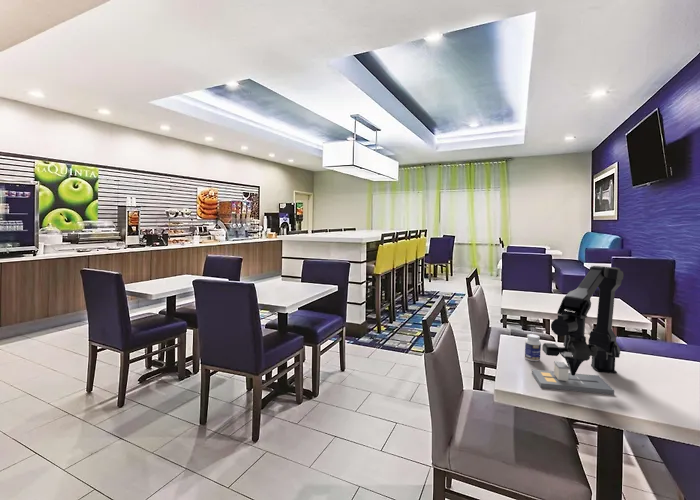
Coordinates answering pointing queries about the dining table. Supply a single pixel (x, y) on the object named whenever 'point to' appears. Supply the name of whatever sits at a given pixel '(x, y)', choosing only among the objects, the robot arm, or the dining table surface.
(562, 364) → the fader
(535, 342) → the pill bottle
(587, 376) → the mixing board
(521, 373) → the dining table surface
